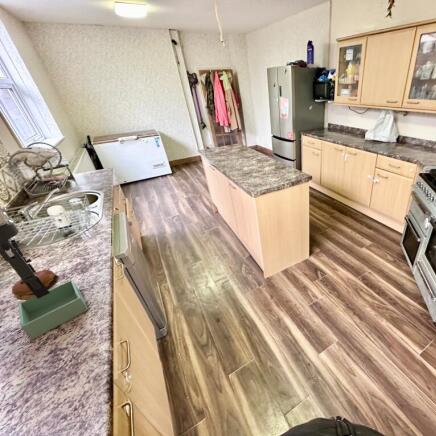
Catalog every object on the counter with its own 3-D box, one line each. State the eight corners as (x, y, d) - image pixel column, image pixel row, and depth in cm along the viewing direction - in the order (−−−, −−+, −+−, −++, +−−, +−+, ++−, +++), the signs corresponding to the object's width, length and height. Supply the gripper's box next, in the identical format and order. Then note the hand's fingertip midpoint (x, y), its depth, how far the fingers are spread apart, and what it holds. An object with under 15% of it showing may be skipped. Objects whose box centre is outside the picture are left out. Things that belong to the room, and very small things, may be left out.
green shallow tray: (28, 315, 76) (18, 303, 74) (79, 290, 85) (72, 279, 82) (32, 339, 68) (20, 327, 66) (88, 309, 77) (80, 298, 74)
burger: (8, 303, 67) (-3, 292, 64) (34, 281, 75) (25, 270, 73) (47, 297, 68) (38, 286, 66) (68, 276, 76) (60, 265, 74)
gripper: (18, 230, 57) (65, 295, 68) (5, 210, 69) (47, 268, 80) (-29, 246, 52) (30, 313, 63) (-35, 221, 64) (16, 281, 75)
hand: (39, 288), depth 71 cm, fingers closed on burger, 10 cm apart
